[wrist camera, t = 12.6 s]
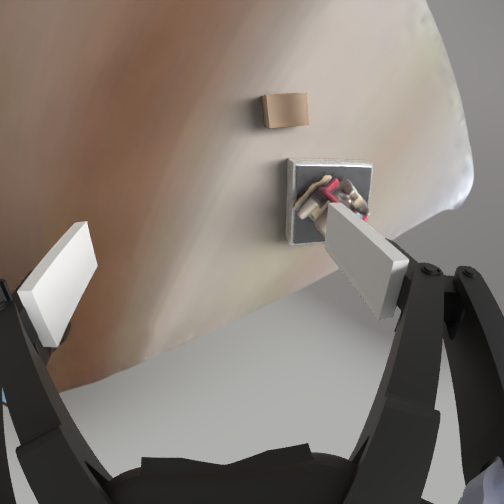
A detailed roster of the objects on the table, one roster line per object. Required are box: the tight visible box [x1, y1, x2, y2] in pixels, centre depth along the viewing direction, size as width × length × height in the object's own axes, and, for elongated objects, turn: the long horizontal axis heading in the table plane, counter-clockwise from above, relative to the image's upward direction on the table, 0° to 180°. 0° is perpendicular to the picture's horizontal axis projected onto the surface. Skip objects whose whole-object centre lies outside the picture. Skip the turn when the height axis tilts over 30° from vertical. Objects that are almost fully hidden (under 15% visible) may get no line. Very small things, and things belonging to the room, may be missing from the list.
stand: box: [285, 158, 373, 245], centre depth 49 cm, size 14×14×4 cm
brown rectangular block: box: [261, 93, 309, 128], centre depth 41 cm, size 6×5×4 cm
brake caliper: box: [294, 175, 371, 237], centre depth 44 cm, size 11×11×12 cm
